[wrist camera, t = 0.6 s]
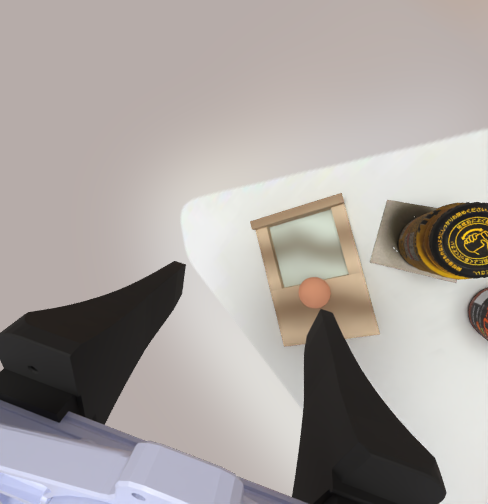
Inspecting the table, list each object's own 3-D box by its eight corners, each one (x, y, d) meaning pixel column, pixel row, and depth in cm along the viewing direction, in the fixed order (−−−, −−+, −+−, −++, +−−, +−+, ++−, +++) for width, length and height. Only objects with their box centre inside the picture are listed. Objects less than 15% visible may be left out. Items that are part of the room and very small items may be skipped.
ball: (335, 302, 31) (333, 308, 28) (305, 307, 33) (300, 314, 29) (327, 272, 32) (324, 275, 28) (298, 279, 33) (292, 282, 30)
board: (378, 330, 31) (381, 338, 28) (286, 342, 35) (281, 350, 32) (342, 197, 32) (341, 192, 30) (257, 223, 36) (250, 221, 34)
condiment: (455, 282, 29) (524, 304, 17) (369, 262, 31) (381, 269, 20) (476, 214, 28) (562, 191, 17) (387, 200, 31) (409, 172, 20)
